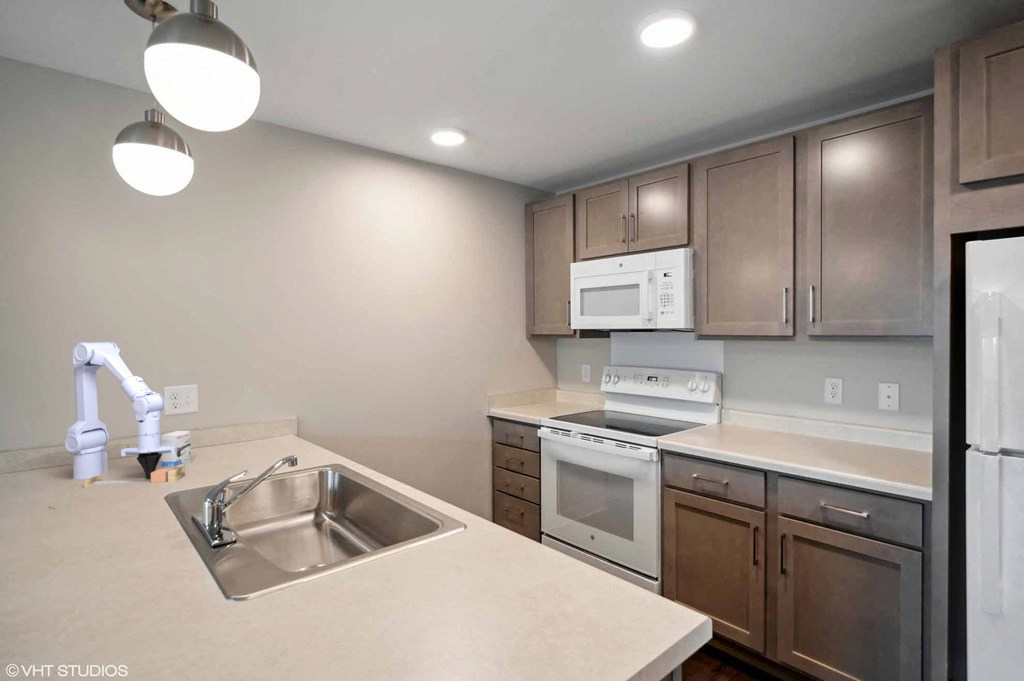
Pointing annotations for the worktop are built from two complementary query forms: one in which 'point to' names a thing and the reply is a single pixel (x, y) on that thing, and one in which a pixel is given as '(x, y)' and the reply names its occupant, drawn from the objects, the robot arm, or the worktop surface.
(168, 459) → the ink box
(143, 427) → the robot arm
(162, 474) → the block
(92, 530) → the worktop surface
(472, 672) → the worktop surface
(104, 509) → the worktop surface
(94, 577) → the worktop surface
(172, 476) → the rail board
